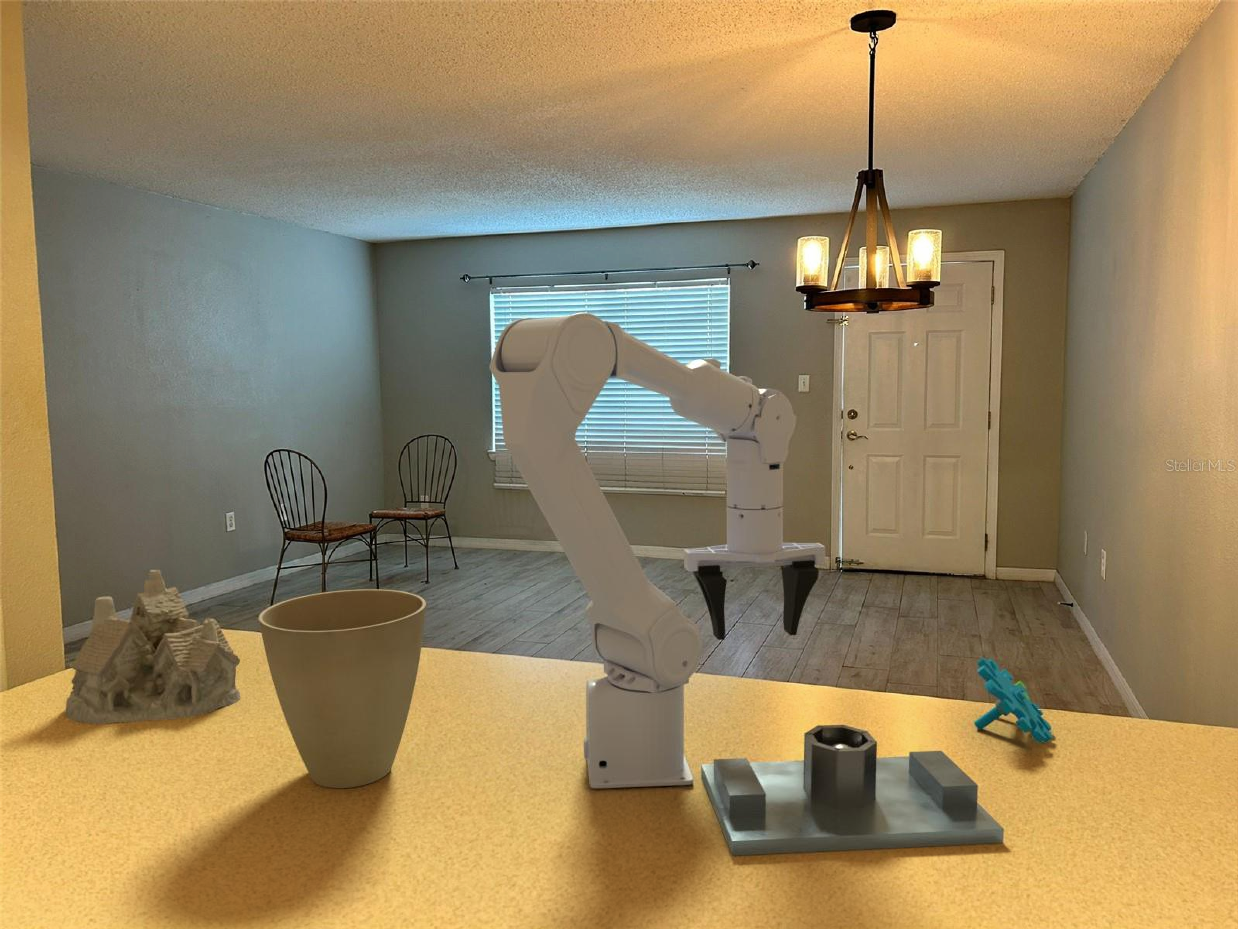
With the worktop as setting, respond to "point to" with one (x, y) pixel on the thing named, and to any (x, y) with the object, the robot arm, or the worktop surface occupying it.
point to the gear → (1011, 702)
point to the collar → (840, 766)
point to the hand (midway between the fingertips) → (754, 634)
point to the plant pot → (345, 677)
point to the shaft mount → (897, 818)
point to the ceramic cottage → (151, 662)
